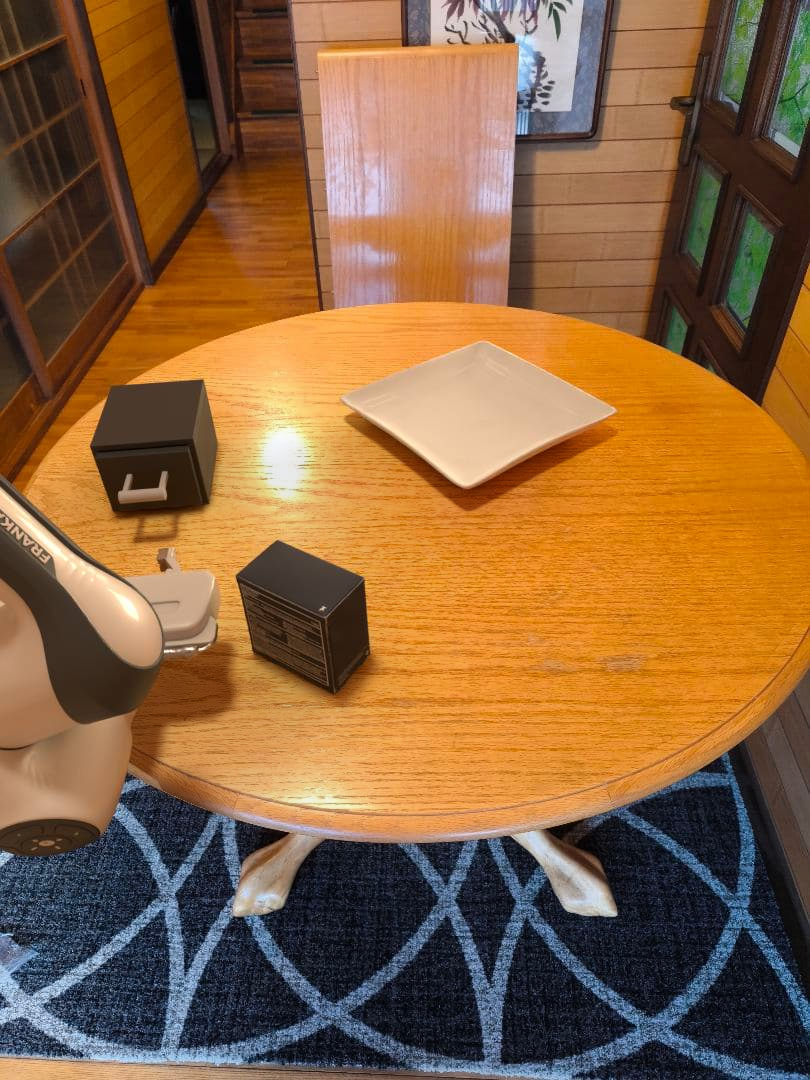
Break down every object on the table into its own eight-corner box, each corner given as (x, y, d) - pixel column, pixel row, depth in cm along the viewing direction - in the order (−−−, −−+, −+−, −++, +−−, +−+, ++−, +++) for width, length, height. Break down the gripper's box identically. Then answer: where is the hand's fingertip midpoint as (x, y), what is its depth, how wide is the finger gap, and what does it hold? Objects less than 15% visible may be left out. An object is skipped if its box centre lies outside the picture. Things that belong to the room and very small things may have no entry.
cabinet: (209, 503, 93) (193, 438, 87) (112, 511, 93) (89, 446, 86) (217, 441, 104) (203, 378, 97) (130, 448, 103) (111, 385, 96)
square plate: (617, 432, 103) (621, 407, 101) (463, 512, 91) (464, 487, 88) (483, 357, 120) (484, 334, 117) (337, 417, 107) (335, 393, 105)
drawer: (198, 529, 88) (183, 475, 83) (106, 537, 88) (86, 483, 83) (210, 446, 101) (198, 394, 96) (130, 452, 101) (114, 400, 95)
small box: (374, 651, 75) (369, 575, 68) (335, 697, 71) (325, 621, 64) (291, 610, 80) (277, 535, 73) (249, 651, 76) (231, 575, 69)
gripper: (208, 629, 63) (220, 523, 74) (-46, 653, 62) (3, 542, 72) (222, 677, 68) (231, 570, 78) (-16, 700, 66) (26, 588, 77)
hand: (120, 556), depth 75 cm, fingers open, 8 cm apart
